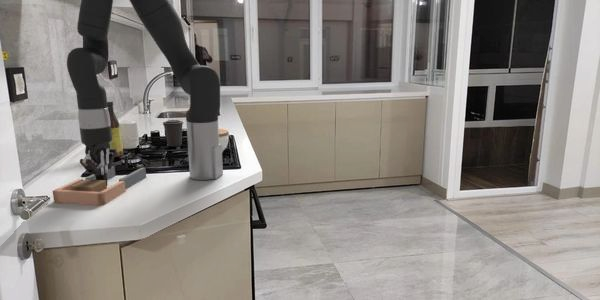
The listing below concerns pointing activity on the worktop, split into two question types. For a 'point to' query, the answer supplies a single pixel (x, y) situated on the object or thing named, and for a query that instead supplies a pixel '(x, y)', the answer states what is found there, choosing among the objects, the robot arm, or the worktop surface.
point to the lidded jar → (223, 138)
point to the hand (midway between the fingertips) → (102, 186)
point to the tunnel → (128, 179)
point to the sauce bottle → (115, 131)
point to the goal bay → (88, 194)
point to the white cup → (129, 133)
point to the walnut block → (90, 185)
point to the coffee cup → (173, 132)
